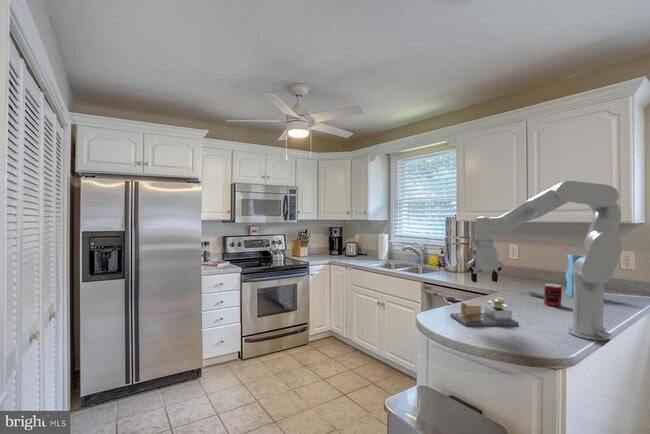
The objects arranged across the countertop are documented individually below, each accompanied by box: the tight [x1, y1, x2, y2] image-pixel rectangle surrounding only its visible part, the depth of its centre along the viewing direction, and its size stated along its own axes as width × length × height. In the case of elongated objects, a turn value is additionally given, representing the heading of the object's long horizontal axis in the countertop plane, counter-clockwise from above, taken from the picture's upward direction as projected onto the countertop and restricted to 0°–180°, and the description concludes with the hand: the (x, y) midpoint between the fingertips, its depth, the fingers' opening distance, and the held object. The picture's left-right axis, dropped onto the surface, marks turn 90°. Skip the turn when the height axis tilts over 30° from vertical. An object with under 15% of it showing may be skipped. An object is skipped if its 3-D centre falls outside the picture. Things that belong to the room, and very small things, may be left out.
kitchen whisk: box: [505, 281, 544, 299], centre depth 203 cm, size 6×33×6 cm, turn 23°
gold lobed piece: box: [491, 298, 506, 310], centre depth 150 cm, size 5×5×5 cm
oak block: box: [460, 301, 482, 319], centre depth 149 cm, size 6×6×6 cm
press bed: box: [450, 305, 520, 327], centre depth 150 cm, size 14×24×6 cm, turn 95°
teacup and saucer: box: [487, 296, 508, 308], centre depth 179 cm, size 9×8×4 cm
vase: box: [565, 254, 586, 298], centre depth 202 cm, size 10×10×25 cm
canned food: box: [543, 283, 563, 308], centre depth 180 cm, size 8×8×11 cm
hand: (484, 281), depth 150 cm, fingers open, 9 cm apart
